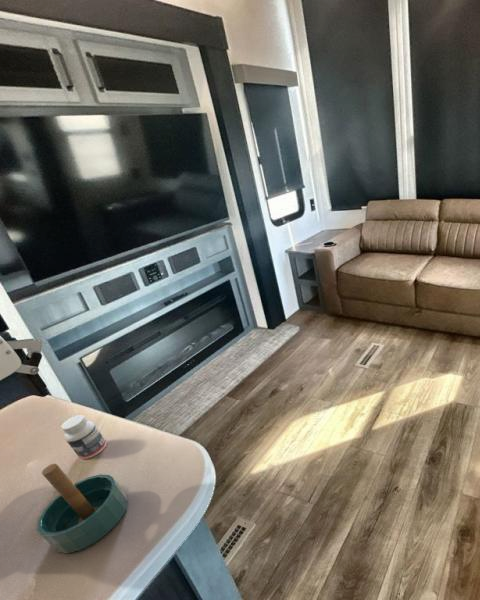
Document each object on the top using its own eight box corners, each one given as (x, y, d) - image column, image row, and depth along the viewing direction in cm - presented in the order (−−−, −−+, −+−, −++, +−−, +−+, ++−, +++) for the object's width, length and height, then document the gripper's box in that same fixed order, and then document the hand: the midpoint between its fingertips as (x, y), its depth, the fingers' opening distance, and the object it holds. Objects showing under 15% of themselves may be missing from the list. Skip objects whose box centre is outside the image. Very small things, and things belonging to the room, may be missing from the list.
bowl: (39, 545, 64) (21, 526, 61) (103, 486, 73) (89, 468, 70) (82, 563, 60) (64, 544, 57) (143, 499, 69) (129, 481, 67)
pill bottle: (73, 457, 81) (51, 428, 77) (97, 438, 85) (77, 410, 81) (89, 461, 79) (67, 433, 75) (112, 442, 83) (92, 414, 79)
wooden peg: (75, 526, 65) (30, 476, 59) (95, 507, 68) (54, 457, 62) (89, 531, 64) (44, 480, 58) (109, 512, 67) (68, 461, 61)
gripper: (-12, 288, 55) (52, 376, 63) (-206, 358, 40) (-91, 461, 48) (18, 290, 52) (80, 382, 60) (-177, 365, 38) (-61, 472, 46)
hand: (4, 417), depth 54 cm, fingers open, 9 cm apart
